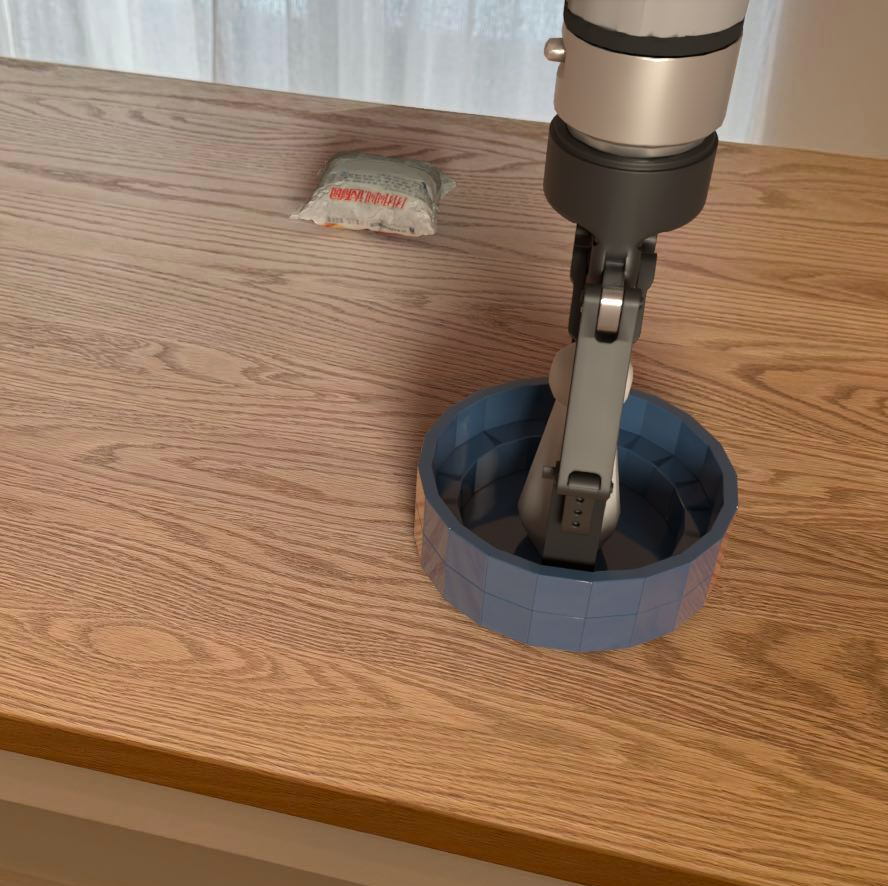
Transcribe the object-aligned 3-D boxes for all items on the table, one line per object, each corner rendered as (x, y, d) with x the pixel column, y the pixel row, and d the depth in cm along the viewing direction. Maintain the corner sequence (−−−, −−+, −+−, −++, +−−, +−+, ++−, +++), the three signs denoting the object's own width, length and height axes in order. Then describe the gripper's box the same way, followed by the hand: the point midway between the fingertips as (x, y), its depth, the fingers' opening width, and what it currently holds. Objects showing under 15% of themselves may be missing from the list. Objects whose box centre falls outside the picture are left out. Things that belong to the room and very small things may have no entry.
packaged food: (434, 259, 97) (437, 201, 94) (288, 238, 99) (287, 181, 96) (455, 207, 103) (459, 151, 100) (318, 189, 105) (318, 134, 102)
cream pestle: (601, 584, 70) (639, 400, 61) (503, 559, 72) (526, 376, 63) (621, 518, 74) (659, 337, 65) (528, 496, 76) (553, 316, 67)
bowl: (714, 471, 78) (734, 395, 74) (717, 682, 66) (742, 604, 62) (438, 436, 81) (443, 360, 77) (391, 632, 68) (394, 554, 64)
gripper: (571, 10, 65) (531, 348, 79) (523, 254, 47) (483, 632, 62) (718, 20, 64) (650, 362, 78) (725, 275, 46) (636, 654, 61)
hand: (576, 481), depth 70 cm, fingers open, 13 cm apart
